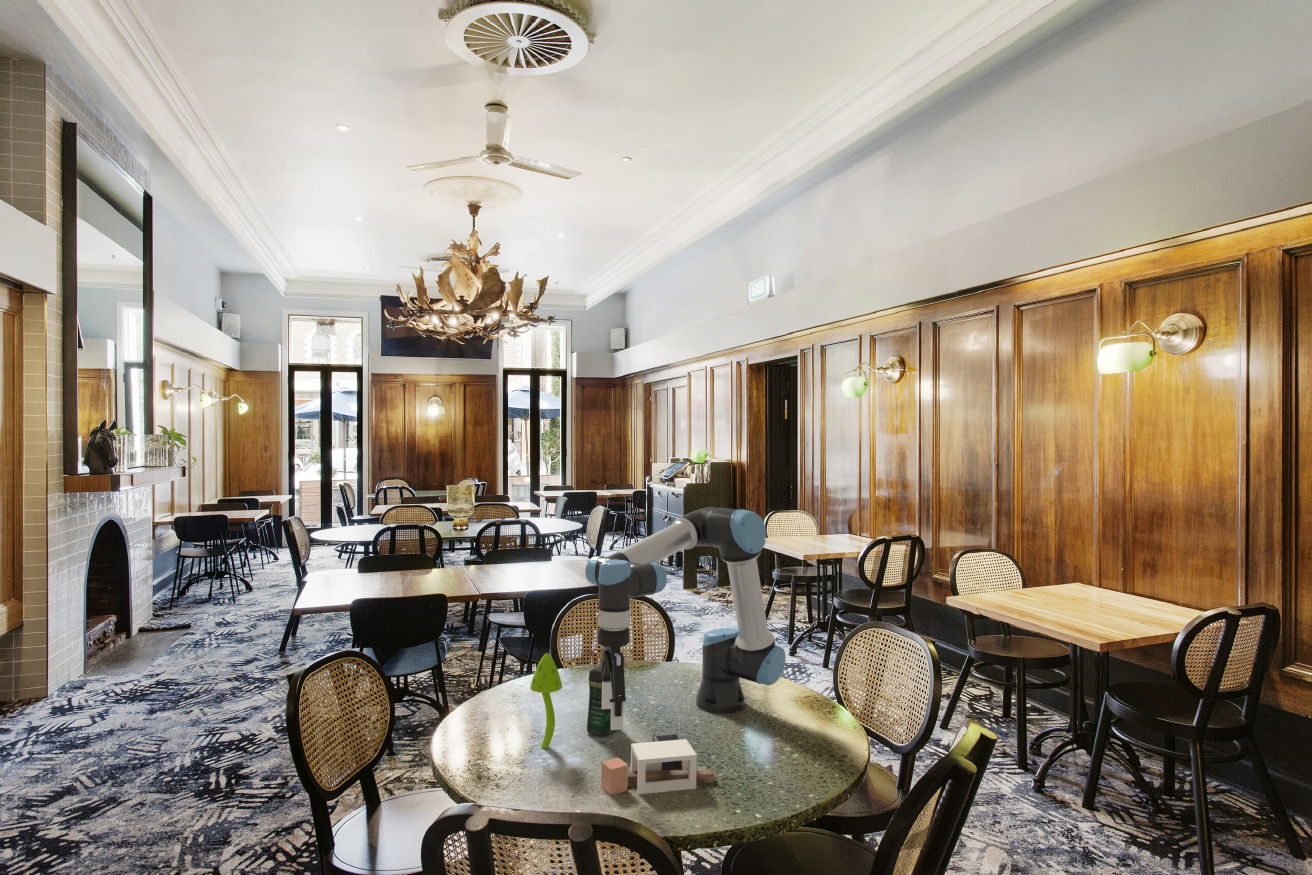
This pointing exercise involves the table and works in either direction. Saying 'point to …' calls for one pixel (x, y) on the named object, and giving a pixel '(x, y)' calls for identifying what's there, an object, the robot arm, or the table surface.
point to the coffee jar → (597, 707)
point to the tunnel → (664, 762)
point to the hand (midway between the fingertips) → (611, 718)
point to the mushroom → (547, 691)
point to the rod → (672, 776)
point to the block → (614, 776)
